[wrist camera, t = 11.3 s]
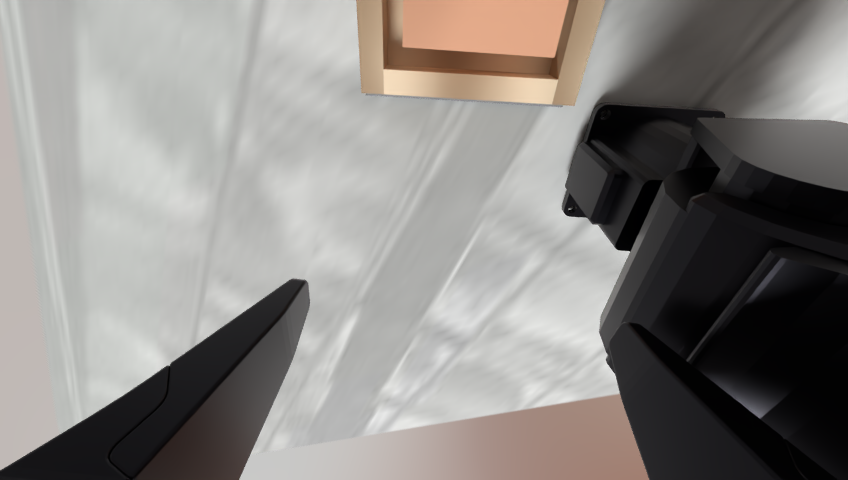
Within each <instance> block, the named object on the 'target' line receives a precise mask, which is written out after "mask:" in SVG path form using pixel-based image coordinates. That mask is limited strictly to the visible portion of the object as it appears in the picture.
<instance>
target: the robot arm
mask: <svg viewBox="0 0 848 480" xmlns="http://www.w3.org/2000/svg"><path fill="white" fill-rule="evenodd" d="M604 110H607V114H606V116H605V117H603V118H600V114H601V112H602V111H604ZM713 117H714V118H713ZM565 187H566V189H567V192H566V195H565V198H564V201H563V204H562V210H563V212H564V213H565V215H567V216H571V217H587V218H588V219H589V221H590V222H591V223H592V224H595V225H599V227H600V228H601V229H602V231H603V232H604V233H605V235H606V236H607V237H608V239H609V240H610V241H611V243H612V244H613V245H614V247H615V248H616V249H617V250H622V251H630V254H629V256H628V258H627V260H626V262H625V265H624V267H623V269H622V271H621V273H620V275H619V278H618V280H617V282H616V284H615V286H614V289H613V291H612V293H611V295H610V297H609V299H608V302H607V304H606V306H605V308H604V310H603V312H602V315H601V319H600V329H599V333H600V336H601V338H602V341H603V344H604V347H605V350H606V352H607V354H608V355H607V357H606V361H607V364H608V365H609V367H610V368H611V369H612V371H613V372H614V373H615V375H616V379H617V383H618V387H619V391H620V395H621V399H622V402H623V405H624V408H625V411H626V414H627V417H628V420H629V423H630V425H631V428H632V431H633V434H634V437H635V440H636V443H637V446H638V448H639V451H640V454H641V457H642V460H643V463H644V466H645V469H646V471H647V474H648V477H649V480H848V124H847V123H842V122H837V121H829V120H790V119H745V118H725V114H724V113H723V112H721V111H718V110H715V109H701V108H685V107H668V106H652V105H635V104H618V103H601V104H599V105H598V106H597V107H596V108H595V109H594V110H593V112H592V115H591V119H590V122H589V125H588V128H587V131H586V134H585V137H584V140H583V142H582V143H581V144H579V145H578V147H577V150H576V153H575V156H574V159H573V162H572V165H571V168H570V172H569V175H568V178H567V181H566V184H565ZM570 206H574V208H573V209H571V210H568V208H569V207H570ZM309 305H310V298H309V287H308V282H307V281H306V280H301V279H291V280H289V281H288V282H286V283H285V284H283V285H282V286H280V287H279V288H278V289H276V290H275V291H273V292H272V293H270V294H269V295H268V296H266V297H265V298H263V299H262V300H260V301H259V302H257V303H256V304H255V305H253V306H252V307H250V308H249V309H247V310H246V311H245V312H243V313H242V314H240V315H239V316H237V317H236V318H235V319H233V320H232V321H230V322H229V323H227V324H226V325H225V326H223V327H222V328H220V329H219V330H217V331H216V332H215V333H213V334H212V335H210V336H209V337H207V338H206V339H205V340H203V341H202V342H200V343H199V344H197V345H196V346H195V347H193V348H192V349H190V350H189V351H187V352H186V353H185V354H183V355H182V356H180V357H179V358H177V359H176V360H175V361H173V362H172V363H171V364H170V366H166V367H164V368H163V369H161V370H160V371H159V372H157V373H156V374H154V375H153V376H151V377H150V378H149V379H147V380H146V381H144V382H143V383H141V384H140V385H138V386H137V387H135V388H134V389H132V390H131V391H129V392H128V393H126V394H125V395H123V396H122V397H120V398H118V399H117V400H115V401H114V402H112V403H110V404H109V405H107V406H106V407H104V408H102V409H101V410H99V411H98V412H96V413H95V414H93V415H91V416H90V417H88V418H86V419H85V420H83V421H81V422H80V423H78V424H76V425H75V426H73V427H71V428H70V429H68V430H67V431H65V432H63V433H62V434H60V435H58V436H57V437H55V438H53V439H52V440H50V441H48V442H47V443H45V444H43V445H42V446H40V447H39V448H37V449H35V450H34V451H32V452H30V453H29V454H27V455H25V456H24V457H22V458H20V459H19V460H17V461H15V462H14V463H12V464H11V465H9V466H7V467H5V468H4V469H2V470H0V480H239V478H240V476H241V474H242V472H243V470H244V467H245V465H246V463H247V460H248V458H249V456H250V454H251V452H252V449H253V447H254V445H255V443H256V441H257V438H258V436H259V434H260V432H261V429H262V427H263V425H264V423H265V421H266V418H267V416H268V414H269V412H270V409H271V407H272V405H273V403H274V400H275V398H276V396H277V394H278V392H279V389H280V387H281V385H282V383H283V380H284V378H285V376H286V374H287V371H288V369H289V367H290V365H291V362H292V360H293V357H294V354H295V351H296V348H297V345H298V342H299V338H300V335H301V332H302V329H303V326H304V323H305V319H306V316H307V313H308V310H309Z"/></svg>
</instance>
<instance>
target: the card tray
mask: <svg viewBox="0 0 848 480" xmlns="http://www.w3.org/2000/svg"><path fill="white" fill-rule="evenodd" d="M356 2H357V20H358V38H359V55H360V73H361V91H362V93H370V94H387V95H404V96H420V97H437V98H453V99H470V100H486V101H503V102H520V103H536V104H553V105H569V106H575V102H576V99H577V96H578V92H579V89H580V85H581V82H582V78H583V75H584V72H585V68H586V65H587V61H588V58H589V55H590V51H591V48H592V44H593V41H594V37H595V34H596V31H597V27H598V24H599V20H600V17H601V14H602V10H603V7H604V3H605V0H569V2H568V6H567V10H566V14H565V18H564V22H563V26H562V30H561V34H560V38H559V42H558V46H557V50H556V54H555V58H550V57H535V56H521V55H507V54H492V53H478V52H464V51H450V50H435V49H421V48H407V47H402V43H403V0H356Z"/></svg>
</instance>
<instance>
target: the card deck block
mask: <svg viewBox="0 0 848 480" xmlns="http://www.w3.org/2000/svg"><path fill="white" fill-rule="evenodd" d="M568 2H569V0H403V43H402V47H407V48H421V49H435V50H450V51H464V52H478V53H492V54H507V55H521V56H535V57H550V58H555V54H556V50H557V46H558V42H559V38H560V34H561V30H562V26H563V22H564V18H565V14H566V10H567V6H568Z"/></svg>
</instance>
